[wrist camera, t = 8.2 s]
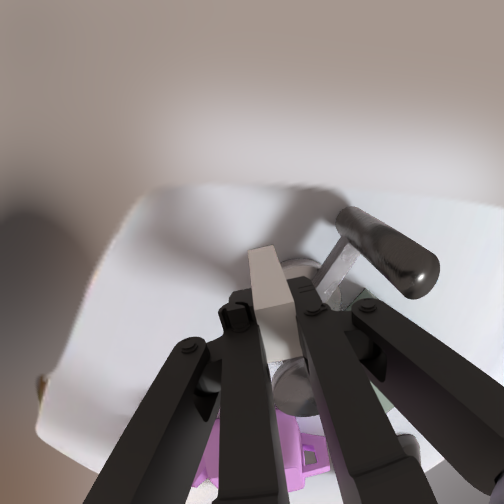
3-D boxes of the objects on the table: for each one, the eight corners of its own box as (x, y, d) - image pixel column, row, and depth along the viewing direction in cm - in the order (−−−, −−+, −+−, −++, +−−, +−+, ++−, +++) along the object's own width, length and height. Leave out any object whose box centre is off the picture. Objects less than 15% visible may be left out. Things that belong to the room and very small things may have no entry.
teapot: (202, 455, 34) (199, 512, 25) (173, 419, 31) (162, 486, 21) (321, 436, 34) (337, 494, 24) (316, 395, 30) (337, 466, 21)
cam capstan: (304, 340, 26) (332, 429, 16) (239, 312, 25) (243, 408, 15) (385, 228, 23) (464, 282, 13) (322, 183, 21) (391, 218, 11)
